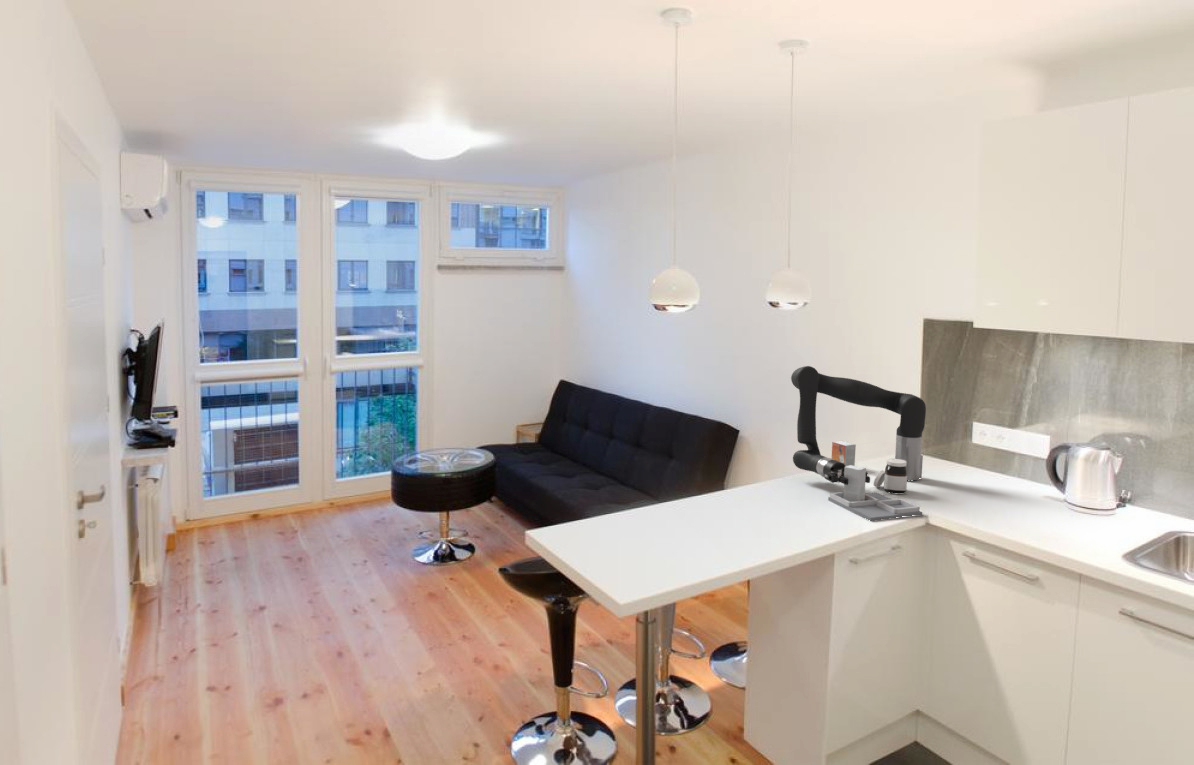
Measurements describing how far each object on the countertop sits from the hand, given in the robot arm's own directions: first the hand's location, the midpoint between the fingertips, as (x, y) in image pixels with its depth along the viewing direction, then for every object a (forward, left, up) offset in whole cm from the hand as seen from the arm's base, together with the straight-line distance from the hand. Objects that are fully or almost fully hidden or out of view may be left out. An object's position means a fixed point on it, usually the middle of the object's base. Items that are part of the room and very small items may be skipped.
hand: (858, 481), depth 255 cm
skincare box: (0, -2, -8) cm, 8 cm away
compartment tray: (-4, +4, -9) cm, 10 cm away
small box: (-26, -47, -9) cm, 54 cm away
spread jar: (-23, -13, -9) cm, 28 cm away
